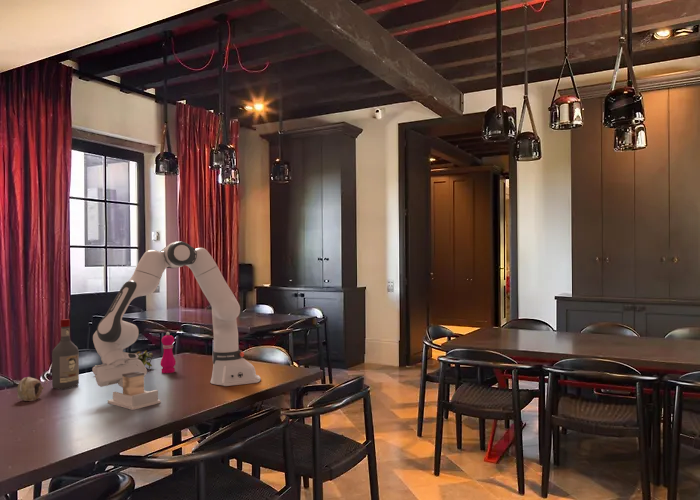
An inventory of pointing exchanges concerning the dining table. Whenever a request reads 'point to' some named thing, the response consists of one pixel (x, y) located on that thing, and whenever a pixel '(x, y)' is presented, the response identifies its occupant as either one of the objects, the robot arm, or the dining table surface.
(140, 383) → the light wood tall block
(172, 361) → the pepper mill
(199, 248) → the robot arm
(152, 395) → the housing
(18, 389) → the tan rounded lump
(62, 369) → the liquor
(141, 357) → the passion flower
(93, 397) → the dining table surface
